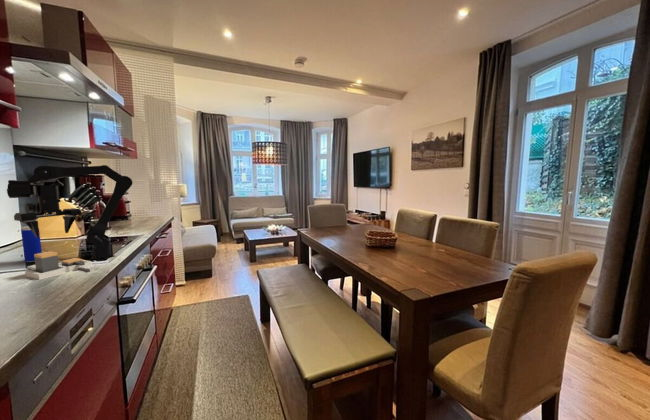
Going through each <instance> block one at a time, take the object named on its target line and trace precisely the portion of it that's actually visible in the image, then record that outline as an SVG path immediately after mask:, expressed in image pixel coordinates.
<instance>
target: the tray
mask: <svg viewBox="0 0 650 420" xmlns="http://www.w3.org/2000/svg"><path fill="white" fill-rule="evenodd" d="M61 261H62V260H59V259H58V263H62V262H61ZM26 267H27V269H28V270H32V269H36V266H35V264H32V265H28V266H26Z"/></svg>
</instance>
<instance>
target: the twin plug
mask: <svg viewBox="0 0 650 420" xmlns="http://www.w3.org/2000/svg"><path fill="white" fill-rule="evenodd" d="M82 260H83V259H82V258H78V257H74V258H67V259H64V260H60V261H61V262H62V266H66V267H69V266H73V265H81V266H82V265H85V263H83V262H82ZM77 271H83V272H86V273H89V272H90V271H91V269H90V268H88V267H86V268H83V267H80V268H78V270H77Z"/></svg>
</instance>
